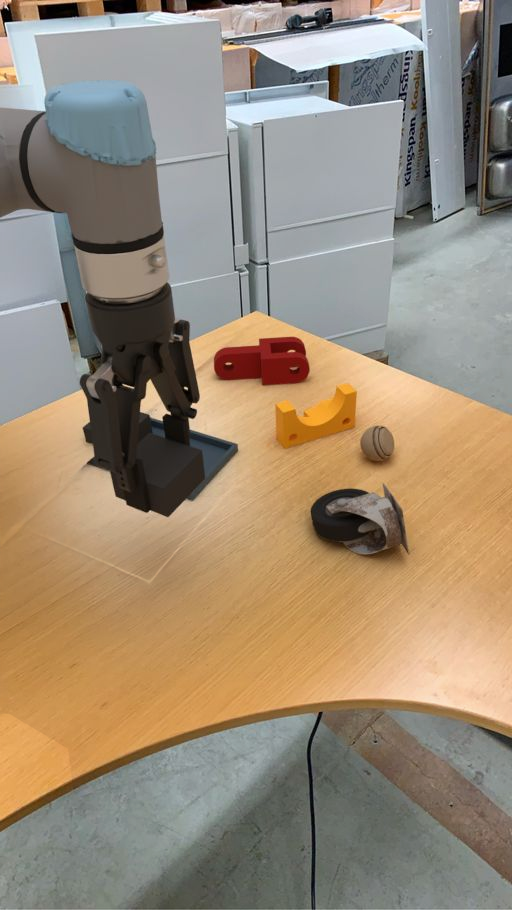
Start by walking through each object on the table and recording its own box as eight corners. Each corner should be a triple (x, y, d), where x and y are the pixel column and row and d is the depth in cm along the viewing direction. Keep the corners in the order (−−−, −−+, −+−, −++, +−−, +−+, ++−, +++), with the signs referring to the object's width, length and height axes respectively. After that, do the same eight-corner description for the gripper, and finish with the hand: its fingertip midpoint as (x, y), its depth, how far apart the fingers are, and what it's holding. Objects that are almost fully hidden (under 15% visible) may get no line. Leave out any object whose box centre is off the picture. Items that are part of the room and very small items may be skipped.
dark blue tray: (72, 460, 96) (70, 451, 95) (123, 417, 104) (122, 408, 103) (192, 503, 88) (191, 494, 87) (238, 453, 96) (237, 443, 95)
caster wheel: (310, 527, 87) (382, 507, 87) (332, 578, 76) (414, 554, 77) (300, 485, 84) (374, 463, 84) (322, 532, 73) (406, 507, 74)
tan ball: (369, 471, 91) (371, 443, 88) (353, 451, 95) (355, 423, 92) (400, 463, 92) (404, 434, 89) (384, 443, 96) (387, 415, 93)
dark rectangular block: (115, 496, 70) (108, 468, 68) (154, 460, 75) (149, 432, 73) (168, 517, 67) (163, 488, 65) (205, 478, 72) (202, 450, 70)
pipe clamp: (340, 412, 103) (341, 377, 99) (354, 426, 100) (356, 391, 96) (271, 433, 99) (270, 397, 95) (283, 448, 96) (283, 412, 92)
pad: (87, 449, 97) (82, 427, 95) (117, 424, 102) (112, 403, 100) (124, 462, 94) (120, 440, 92) (153, 436, 99) (149, 414, 97)
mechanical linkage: (304, 361, 116) (304, 335, 113) (309, 382, 110) (309, 356, 107) (215, 366, 116) (212, 341, 113) (215, 388, 110) (212, 362, 107)
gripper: (83, 345, 49) (130, 557, 63) (224, 253, 62) (237, 445, 76) (11, 325, 52) (72, 531, 66) (160, 241, 65) (184, 428, 79)
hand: (160, 485), depth 71 cm, fingers closed on dark rectangular block, 7 cm apart
